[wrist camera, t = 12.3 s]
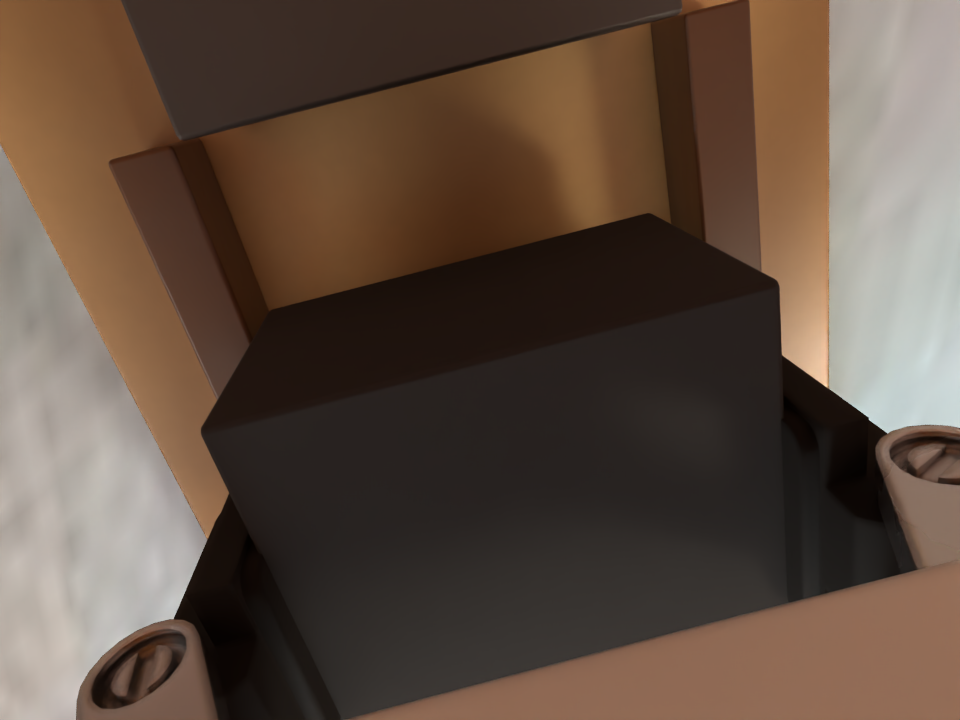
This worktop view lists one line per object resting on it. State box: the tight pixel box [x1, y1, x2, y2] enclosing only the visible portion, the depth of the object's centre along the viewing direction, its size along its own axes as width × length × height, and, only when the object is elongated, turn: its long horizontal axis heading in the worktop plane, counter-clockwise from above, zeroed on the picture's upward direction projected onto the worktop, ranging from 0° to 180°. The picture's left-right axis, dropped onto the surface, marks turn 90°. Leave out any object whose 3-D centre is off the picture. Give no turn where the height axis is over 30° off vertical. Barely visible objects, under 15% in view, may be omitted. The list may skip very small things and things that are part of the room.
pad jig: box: [0, 0, 829, 540], centre depth 10 cm, size 14×19×4 cm
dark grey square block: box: [201, 213, 790, 720], centre depth 10 cm, size 6×6×4 cm
